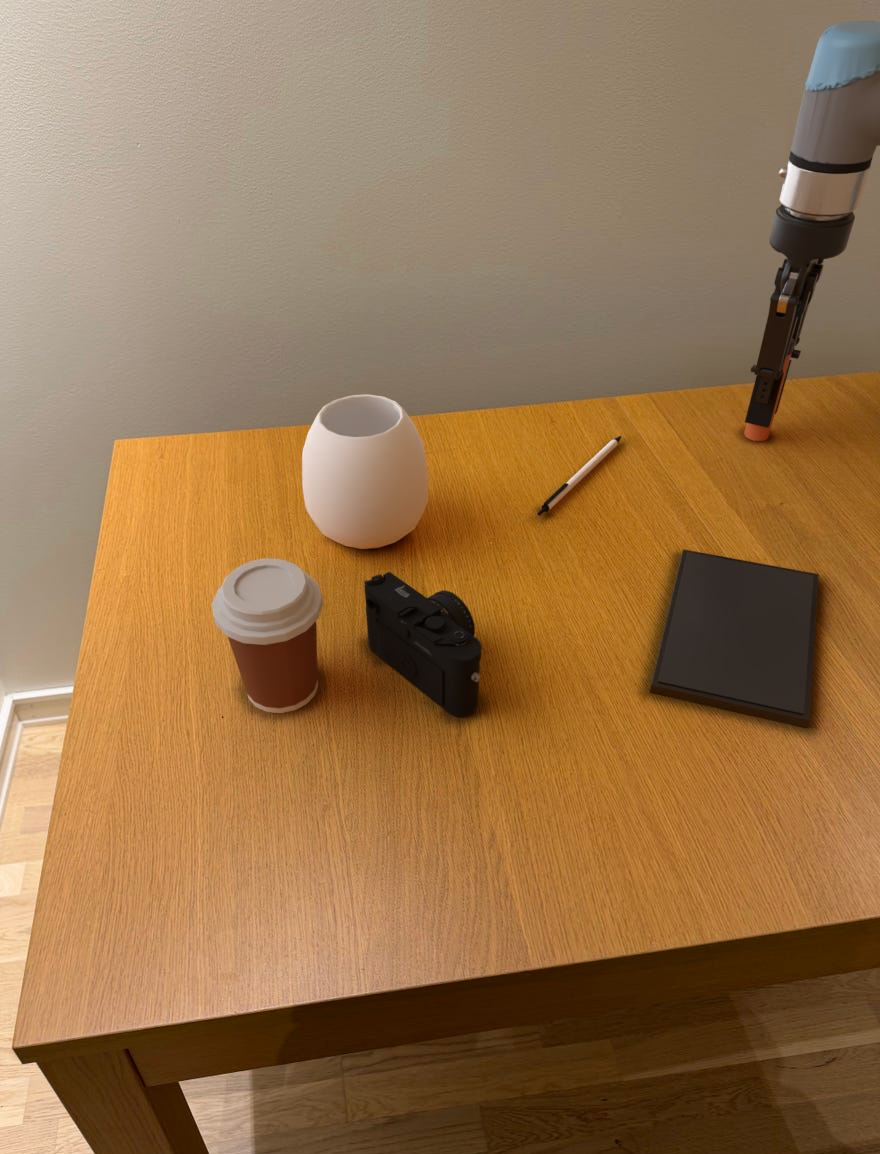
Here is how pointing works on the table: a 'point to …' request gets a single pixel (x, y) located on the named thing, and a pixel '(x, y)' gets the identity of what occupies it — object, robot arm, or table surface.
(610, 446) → the pen
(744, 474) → the table surface
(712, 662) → the plate
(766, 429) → the orange cylinder
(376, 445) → the white vase
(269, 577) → the coffee cup
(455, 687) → the camera
